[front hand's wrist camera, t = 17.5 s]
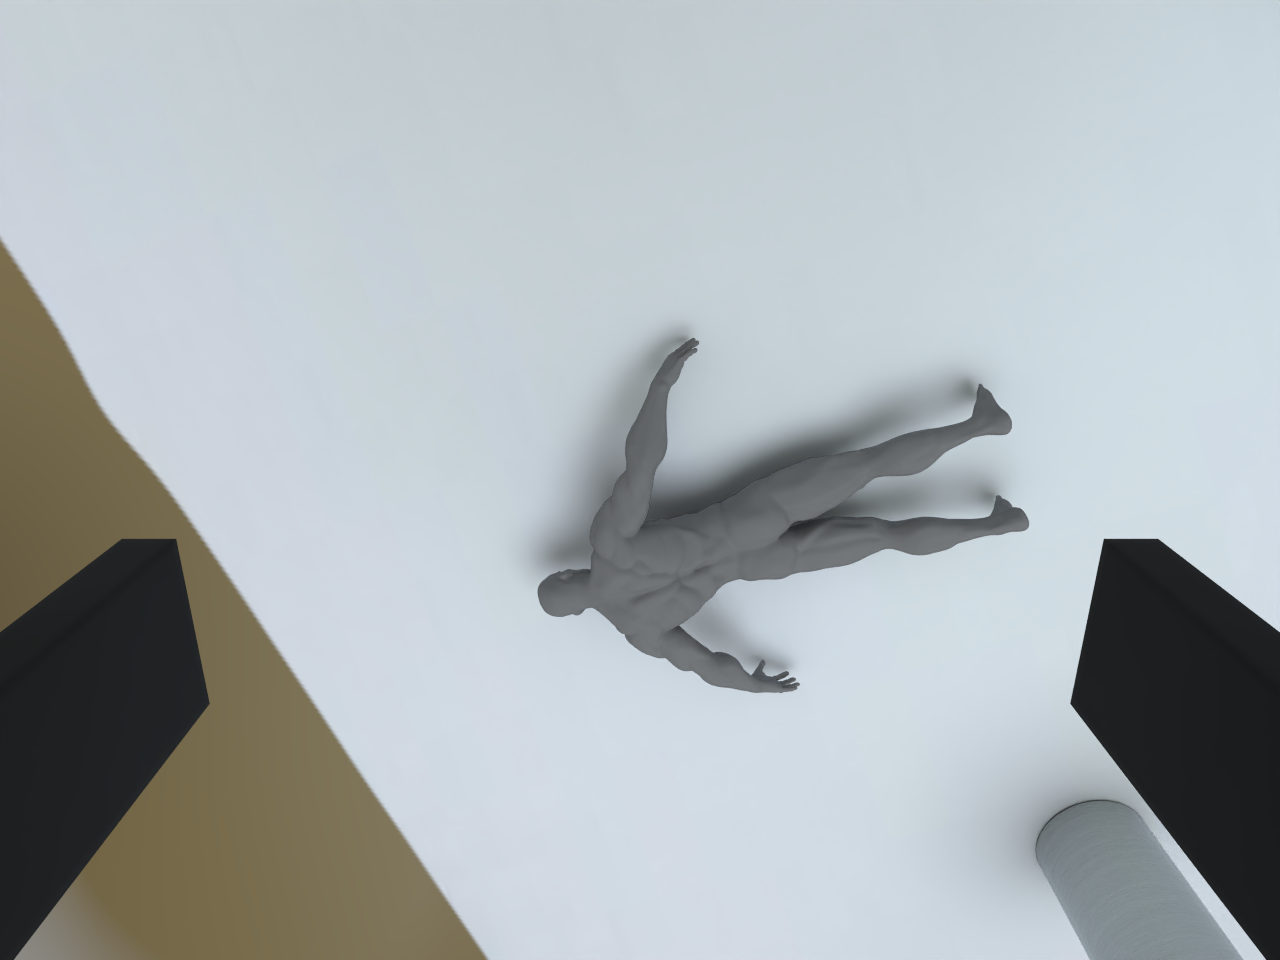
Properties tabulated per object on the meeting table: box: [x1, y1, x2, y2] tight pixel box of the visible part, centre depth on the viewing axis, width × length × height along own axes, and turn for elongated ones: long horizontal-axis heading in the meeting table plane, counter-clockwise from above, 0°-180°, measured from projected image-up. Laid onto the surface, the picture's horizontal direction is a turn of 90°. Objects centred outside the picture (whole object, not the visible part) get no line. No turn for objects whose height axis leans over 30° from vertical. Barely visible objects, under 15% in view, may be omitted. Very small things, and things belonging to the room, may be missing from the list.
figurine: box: [538, 338, 1029, 693], centre depth 37 cm, size 17×4×20 cm
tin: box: [1036, 801, 1243, 960], centre depth 39 cm, size 6×6×13 cm
